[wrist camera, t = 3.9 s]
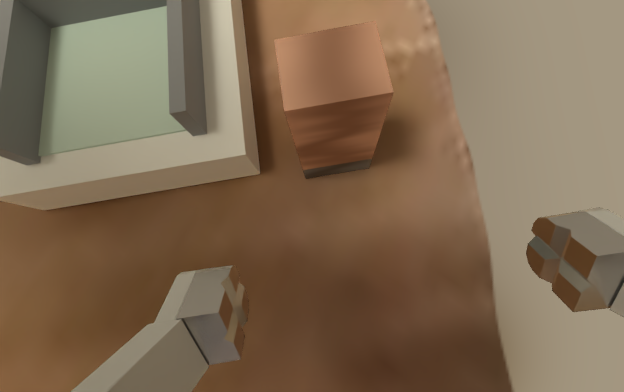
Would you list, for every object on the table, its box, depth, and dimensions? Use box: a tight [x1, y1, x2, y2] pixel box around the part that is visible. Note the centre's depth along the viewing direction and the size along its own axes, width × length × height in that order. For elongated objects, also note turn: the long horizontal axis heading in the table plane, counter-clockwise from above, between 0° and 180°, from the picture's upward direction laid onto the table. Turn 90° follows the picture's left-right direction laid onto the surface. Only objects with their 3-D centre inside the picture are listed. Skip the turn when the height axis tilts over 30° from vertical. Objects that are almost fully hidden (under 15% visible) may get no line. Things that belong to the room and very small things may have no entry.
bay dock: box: [0, 0, 260, 210], centre depth 23 cm, size 18×18×7 cm
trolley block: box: [274, 21, 393, 179], centre depth 19 cm, size 5×4×10 cm
